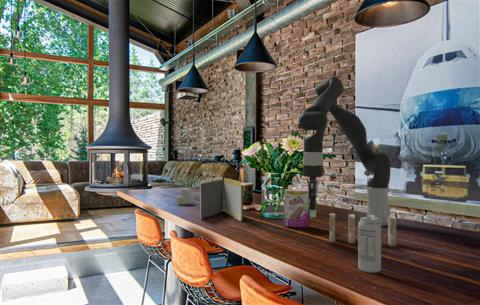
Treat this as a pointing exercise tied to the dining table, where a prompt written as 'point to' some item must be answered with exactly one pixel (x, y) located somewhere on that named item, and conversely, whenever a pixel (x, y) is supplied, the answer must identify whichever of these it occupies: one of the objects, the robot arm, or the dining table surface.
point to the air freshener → (185, 197)
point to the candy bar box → (296, 208)
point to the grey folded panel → (221, 197)
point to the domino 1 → (313, 211)
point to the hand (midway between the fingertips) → (312, 208)
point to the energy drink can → (369, 245)
